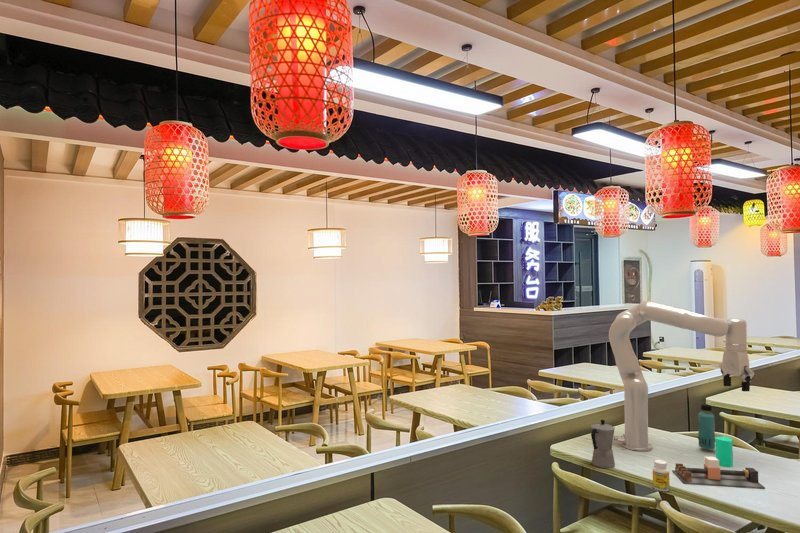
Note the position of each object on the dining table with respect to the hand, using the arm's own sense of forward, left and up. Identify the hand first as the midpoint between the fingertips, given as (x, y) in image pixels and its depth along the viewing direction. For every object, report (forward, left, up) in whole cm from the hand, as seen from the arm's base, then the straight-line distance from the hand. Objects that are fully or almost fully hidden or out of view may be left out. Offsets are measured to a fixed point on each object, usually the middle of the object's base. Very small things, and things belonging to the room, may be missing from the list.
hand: (736, 388), depth 216 cm
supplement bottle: (-42, -40, -29) cm, 65 cm away
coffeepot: (-58, -19, -29) cm, 68 cm away
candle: (-9, -10, -29) cm, 32 cm away
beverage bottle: (-9, +7, -29) cm, 31 cm away
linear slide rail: (-19, -28, -29) cm, 44 cm away
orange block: (-21, -28, -28) cm, 44 cm away
